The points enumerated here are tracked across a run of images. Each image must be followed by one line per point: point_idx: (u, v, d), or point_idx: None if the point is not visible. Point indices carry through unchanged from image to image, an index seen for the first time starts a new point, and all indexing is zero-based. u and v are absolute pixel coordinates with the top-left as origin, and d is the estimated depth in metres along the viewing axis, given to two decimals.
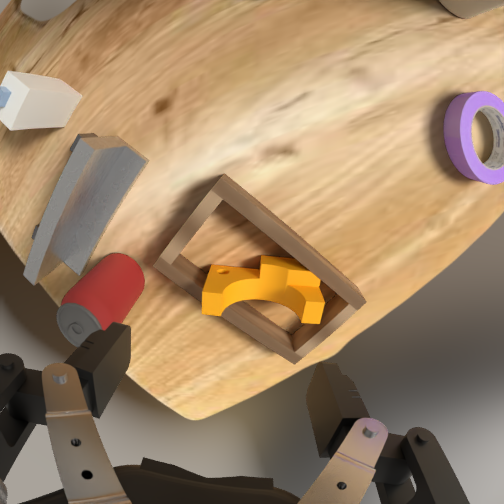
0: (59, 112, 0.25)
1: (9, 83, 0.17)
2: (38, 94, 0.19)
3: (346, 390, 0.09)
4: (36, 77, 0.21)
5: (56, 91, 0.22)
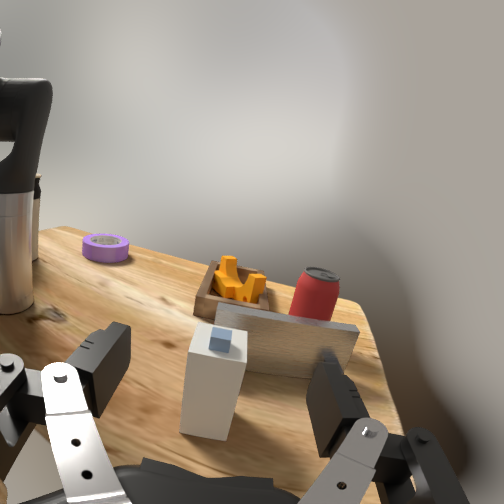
0: None
1: (203, 344, 0.23)
2: None
3: (346, 390, 0.09)
4: None
5: None
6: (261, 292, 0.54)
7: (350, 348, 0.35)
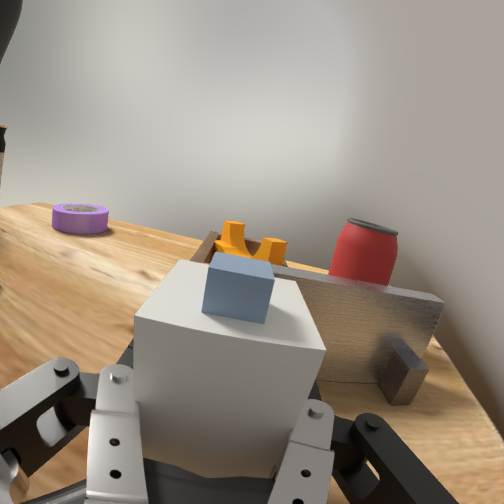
0: None
1: (186, 301, 0.08)
2: None
3: None
4: None
5: None
6: (280, 263, 0.39)
7: (430, 330, 0.21)
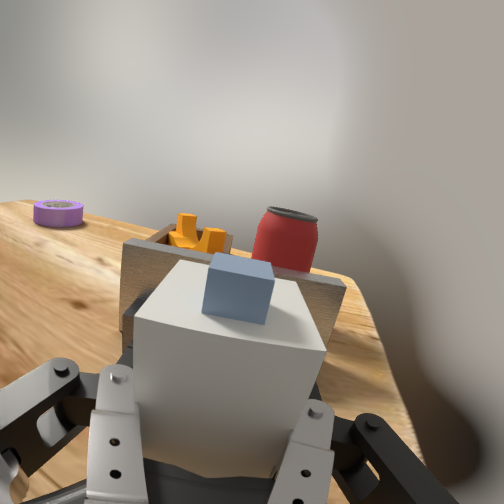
0: None
1: (185, 301, 0.08)
2: None
3: None
4: None
5: None
6: (220, 252, 0.42)
7: (333, 314, 0.23)
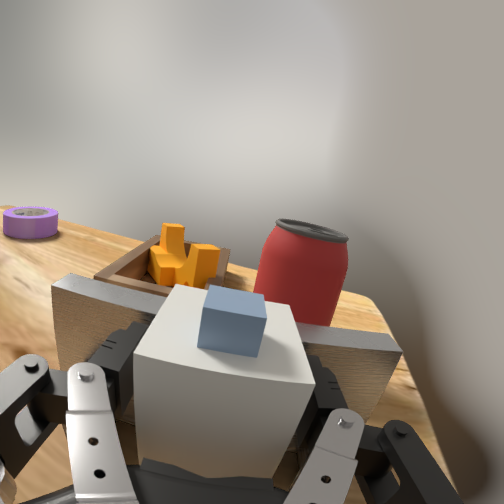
0: None
1: (181, 334, 0.08)
2: None
3: (325, 381, 0.10)
4: None
5: None
6: (212, 275, 0.32)
7: (378, 389, 0.14)
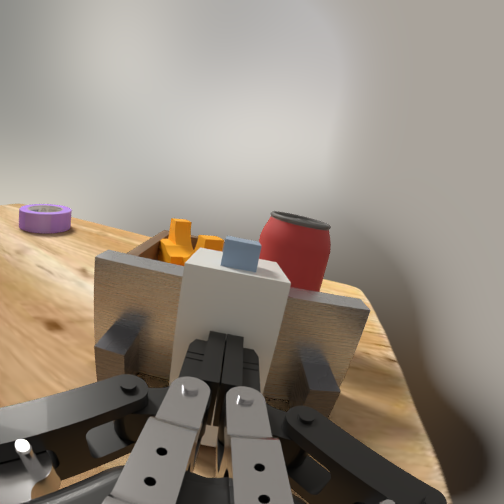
0: None
1: (210, 261, 0.14)
2: None
3: (240, 360, 0.10)
4: None
5: None
6: None
7: (352, 342, 0.19)
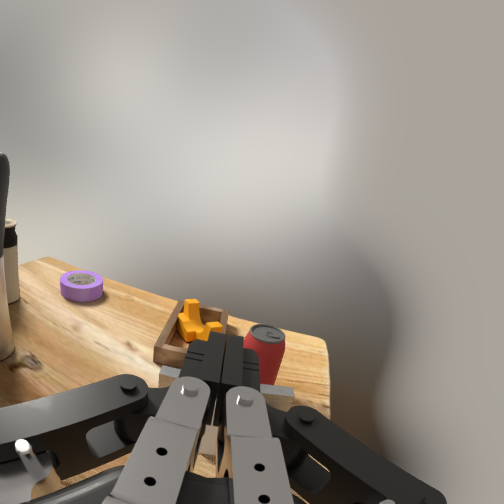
0: None
1: None
2: None
3: (240, 360, 0.10)
4: None
5: None
6: None
7: (286, 409, 0.36)
